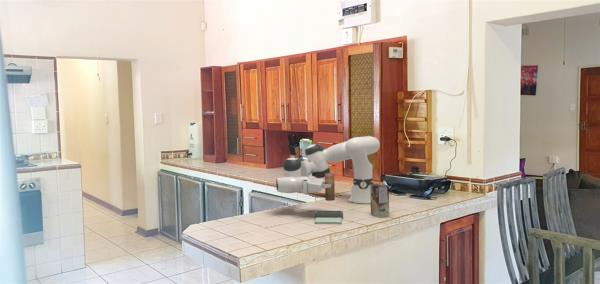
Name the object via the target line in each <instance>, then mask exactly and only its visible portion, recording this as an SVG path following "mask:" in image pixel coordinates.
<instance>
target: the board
mask: <svg viewBox="0 0 600 284" xmlns="http://www.w3.org/2000/svg"><path fill="white" fill-rule="evenodd" d="M342 221H343V219H342V218H316V217H315V220H314V225H342V223H343V222H342Z"/></svg>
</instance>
